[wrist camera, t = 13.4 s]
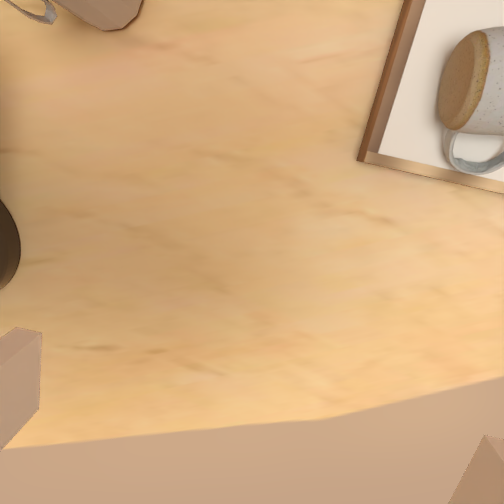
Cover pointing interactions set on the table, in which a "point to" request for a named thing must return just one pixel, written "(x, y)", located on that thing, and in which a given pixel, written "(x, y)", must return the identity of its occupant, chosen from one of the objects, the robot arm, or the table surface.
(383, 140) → the mat
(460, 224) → the table surface
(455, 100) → the ceramic mug
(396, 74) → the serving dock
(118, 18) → the water bottle
